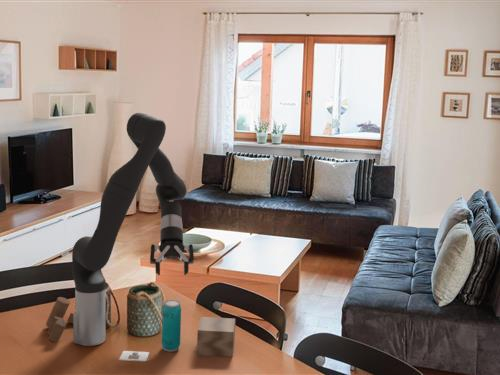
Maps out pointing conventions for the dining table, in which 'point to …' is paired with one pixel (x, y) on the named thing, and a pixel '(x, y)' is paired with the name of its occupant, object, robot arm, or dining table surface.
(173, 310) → the beverage can
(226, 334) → the walnut base brick
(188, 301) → the dining table surface
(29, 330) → the dining table surface
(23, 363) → the dining table surface
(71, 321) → the wooden block set
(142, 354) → the tower plan card
